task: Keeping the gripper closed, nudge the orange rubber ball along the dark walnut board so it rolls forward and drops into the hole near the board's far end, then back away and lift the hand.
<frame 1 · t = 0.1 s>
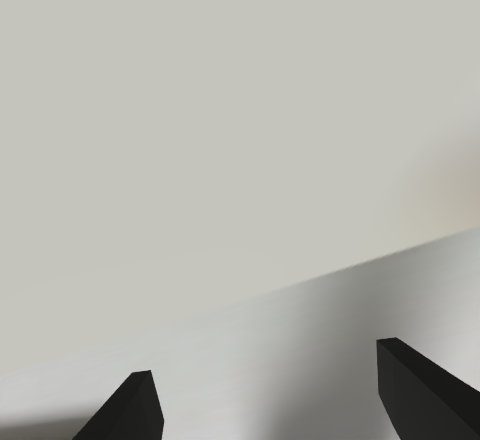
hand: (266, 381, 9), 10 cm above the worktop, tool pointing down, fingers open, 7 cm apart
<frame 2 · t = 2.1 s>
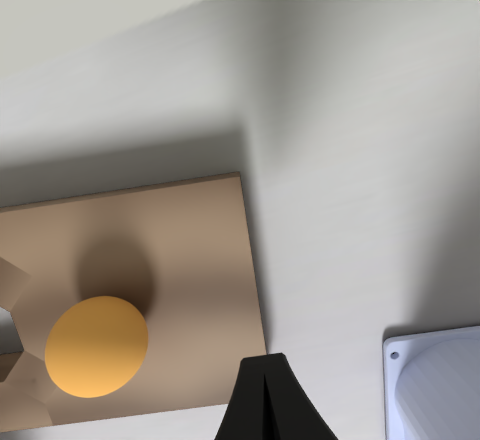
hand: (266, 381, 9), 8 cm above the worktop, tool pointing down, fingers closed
ball: (100, 343, 13), point 4 cm above the worktop, touching hole board
hole board: (84, 300, 17), on the worktop
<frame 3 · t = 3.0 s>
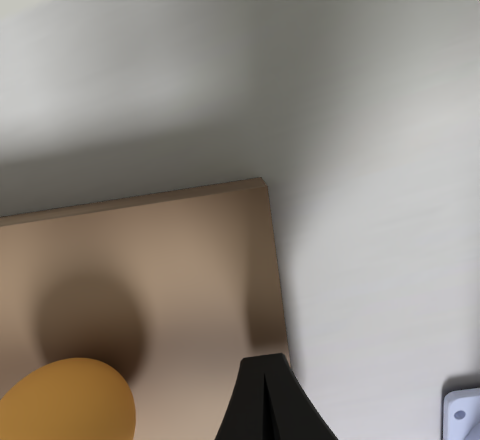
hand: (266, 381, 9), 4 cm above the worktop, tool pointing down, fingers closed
ball: (64, 432, 9), point 4 cm above the worktop, touching hole board
hole board: (55, 345, 13), on the worktop
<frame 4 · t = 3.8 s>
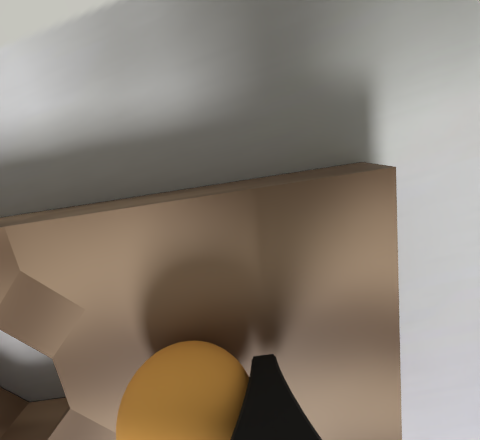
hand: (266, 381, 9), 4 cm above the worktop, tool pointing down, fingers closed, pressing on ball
ball: (189, 414, 9), point 4 cm above the worktop, touching gripper, hole board
hole board: (142, 333, 13), on the worktop
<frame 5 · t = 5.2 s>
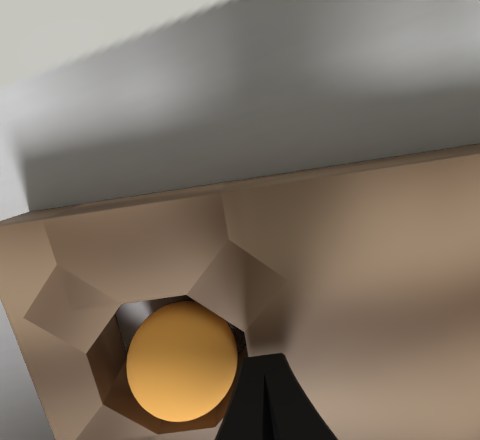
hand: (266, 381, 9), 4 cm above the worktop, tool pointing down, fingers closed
ball: (183, 356, 11), point 2 cm above the worktop, tilted 177°
hole board: (297, 311, 13), on the worktop
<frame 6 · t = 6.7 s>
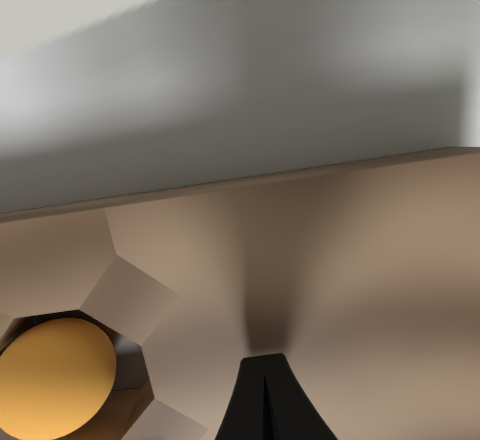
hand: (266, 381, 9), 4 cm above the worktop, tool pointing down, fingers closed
ball: (58, 374, 11), point 2 cm above the worktop, tilted 146°
hole board: (214, 322, 13), on the worktop
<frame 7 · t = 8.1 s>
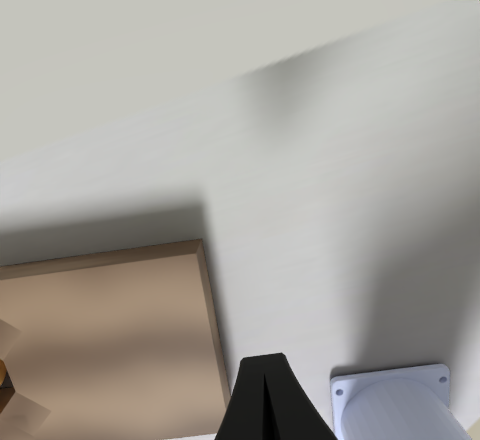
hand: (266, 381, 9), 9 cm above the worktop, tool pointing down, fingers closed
hole board: (69, 343, 20), on the worktop
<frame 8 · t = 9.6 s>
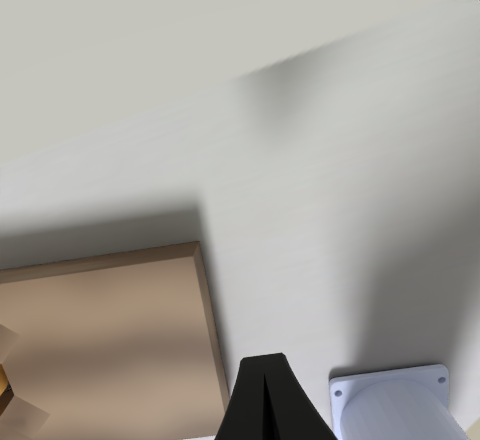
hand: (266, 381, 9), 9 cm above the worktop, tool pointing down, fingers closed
hole board: (68, 347, 20), on the worktop
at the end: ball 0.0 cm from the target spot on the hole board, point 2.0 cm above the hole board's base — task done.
